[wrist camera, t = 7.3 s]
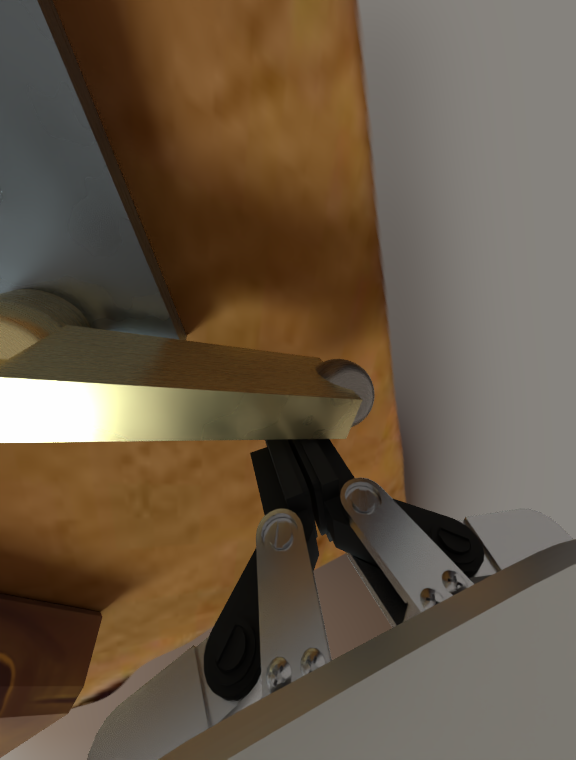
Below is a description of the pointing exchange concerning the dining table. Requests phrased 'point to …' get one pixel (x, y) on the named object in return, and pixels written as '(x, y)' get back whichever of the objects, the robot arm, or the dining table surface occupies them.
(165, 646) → the dining table surface
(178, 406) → the brass lever
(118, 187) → the levelling plate
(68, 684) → the diary
